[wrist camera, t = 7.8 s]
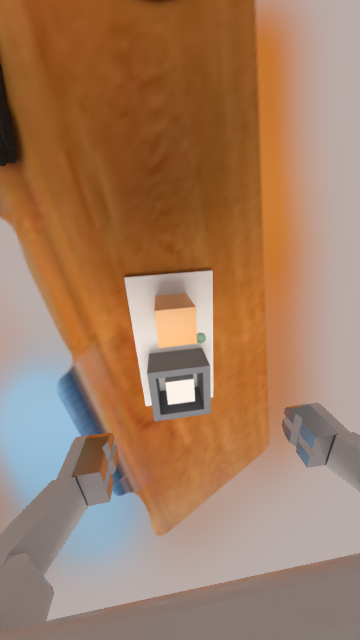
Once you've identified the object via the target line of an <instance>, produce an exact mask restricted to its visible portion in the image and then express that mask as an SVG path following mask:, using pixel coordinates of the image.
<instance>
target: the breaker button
mask: <svg viewBox="0 0 360 640" xmlns="http://www.w3.org/2000/svg"><path fill="white" fill-rule="evenodd" d="M165 383H166V392H167V401H168V405H171V404H179V403H186V402H193V401H195V390H194V377H193V374H190V375H182V376H174V377H166V378H165Z"/></svg>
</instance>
